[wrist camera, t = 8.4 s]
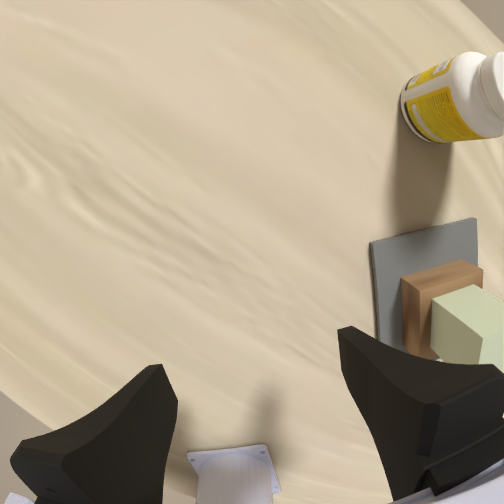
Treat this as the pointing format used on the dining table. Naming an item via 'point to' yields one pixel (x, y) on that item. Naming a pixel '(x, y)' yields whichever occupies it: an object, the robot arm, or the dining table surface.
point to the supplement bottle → (457, 99)
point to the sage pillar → (468, 327)
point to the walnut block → (430, 300)
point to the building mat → (415, 268)
